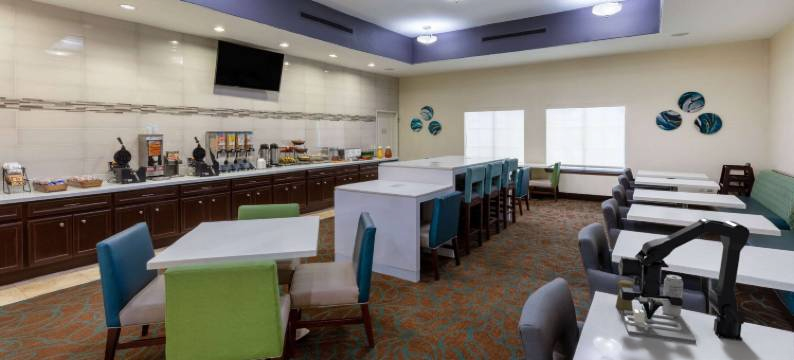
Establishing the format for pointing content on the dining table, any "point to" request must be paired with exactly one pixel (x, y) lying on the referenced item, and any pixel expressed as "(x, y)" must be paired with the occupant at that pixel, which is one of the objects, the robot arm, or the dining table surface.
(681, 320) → the console board
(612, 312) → the dining table surface
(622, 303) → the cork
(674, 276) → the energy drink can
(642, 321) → the fader cap
